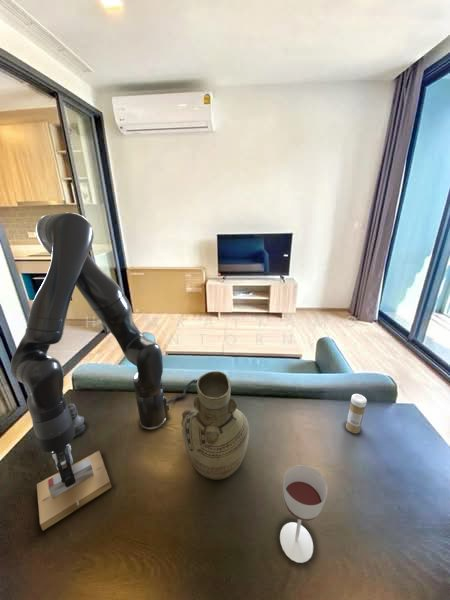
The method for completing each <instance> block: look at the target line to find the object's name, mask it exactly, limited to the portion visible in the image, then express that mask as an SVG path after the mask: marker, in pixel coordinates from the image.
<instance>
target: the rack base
mask: <svg viewBox="0 0 450 600" xmlns="http://www.w3.org/2000/svg"><path fill="white" fill-rule="evenodd" d="M88 458H89V459H90V462H91V465H92V469H93V472H94V475H92V476H91V477H89V478H87V479H86V480H84V481H82V482H80V483H79V484H77V485H75V486H74V487H72V488H70V489H68V490H67V491H65V492H63V493H62V494H60V495H58V496H56V497H55V498H53V499H52V496H51V494H50V491H49V488H48V480H49V479H50V478H52V477H55V476H57V475H59V474H60V473H59V471H58V472H57V473H55V474H52V475H51V476H49V477H47V478H45V479H44V480H42V481H40V482H38V483H36V494H37V504H38V505H37V506H38V517H39V526H40V528H41V531H45V530H47V529H48V528H50V527H52V526H53V525H55V524H56V523H58V522H59V521H61V520H62V519H64V518H65V517H67V516H69V515H71V514H72V513H73V512H75V511H77V510H78V509H80V508H82V507H83V506H84V505H86V504H88V503H89V502H91V501H93V500H94V499H96V498H97V497H99V496H100V495H102V494H104V493H105V492H107V491H109V489H111V488H112V484H111V479H110V477H109V475H108V471H107V469H106V466H105V463H104V459H103V458H102V454H101V452H100V450H97V451H96V452H94V453H92V454H90V455H88V456H86V457H84V458H83V459H80V460H79V461H77V462H76V463H72V464H71V465H72V467H73V466H75V465H77V464H79V463H81V462H82V461H84V460H86V459H88Z"/></svg>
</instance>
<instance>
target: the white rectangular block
mask: <svg viewBox="0 0 450 600" xmlns="http://www.w3.org/2000/svg"><path fill="white" fill-rule="evenodd" d="M72 469H73V470H74V472H73V473H74V477H75V481H76V482H75V484H73V485H71V486H69V487H67V488H66V486H65V483H63V482H62V481H61V480H62V479H61V476H60V474H59V475H57V476H55V477H52V478H50V479H49V480H48V488H49V491H50V494H51V496H52V499H53V498H55V497H56V496H58V495H60V494H62V493H63V492H65V491H67V490H68V489H70V488H72V487H74V486H75V485H77V484H79V483H80V482H82V481H84V480H86V479H87V478H89V477H91V476H92V475H94V472H93V469H92V465H91V462H90V459H89V458H88V459H86V460H84V461H82V462H81V463H79V464H77V465H75V466H73V467H72Z"/></svg>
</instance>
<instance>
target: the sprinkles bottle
mask: <svg viewBox="0 0 450 600" xmlns="http://www.w3.org/2000/svg"><path fill="white" fill-rule="evenodd" d="M367 403H368V400H367V398H366V397H365V396H364V395H362V394H360V393H354V394H352V395H351V398H350V404H349V408H348V409H349V410H348V414H347V418H346V419H347V420H346V424H345V428H346V429H347V431H348V432H350V433H352V434H359V433H360V432H361V426H362V423H363V419H364V413H365V409H366V406H367Z"/></svg>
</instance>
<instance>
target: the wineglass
mask: <svg viewBox="0 0 450 600" xmlns="http://www.w3.org/2000/svg"><path fill="white" fill-rule="evenodd" d="M282 489H283V498H284V502H285V506H286V508H287V510H288V512H289V513H290V514H291V516H293V517H294V518H296V519H297V521H296V522H293V521H290V522H287V523H285V524H284V525H283V526H282V528H281V529H280V534H279V541H280V545H281V548H282V551H283V552H284V554H285V555H286V557H288V559H290V560H291V561H293V562H295V563H301V564H303V563H306V562H308V561H309V560H311V558H312V556H313V553H314V543H313V538H312V536H311V534H310V533H309V530H307V529H306V528H305V527H304V526H303V525H302V521H305V522H309V521H312V520H314V519H316V518H317V517H318V516H319V515H320V513H321V512H322V510H323V507H324V505H325V503H326V499H327V496H328V485H327V482H326V480H325V478H324V477H323V475H322V474H321V473H320V472H319V471H318V470H317V469H315V468H313V467H312V466H309V465H305V464H296V465H293V466H290V467H289V468H288V469H287V470H286V471H285V473H284V475H283V484H282Z"/></svg>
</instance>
